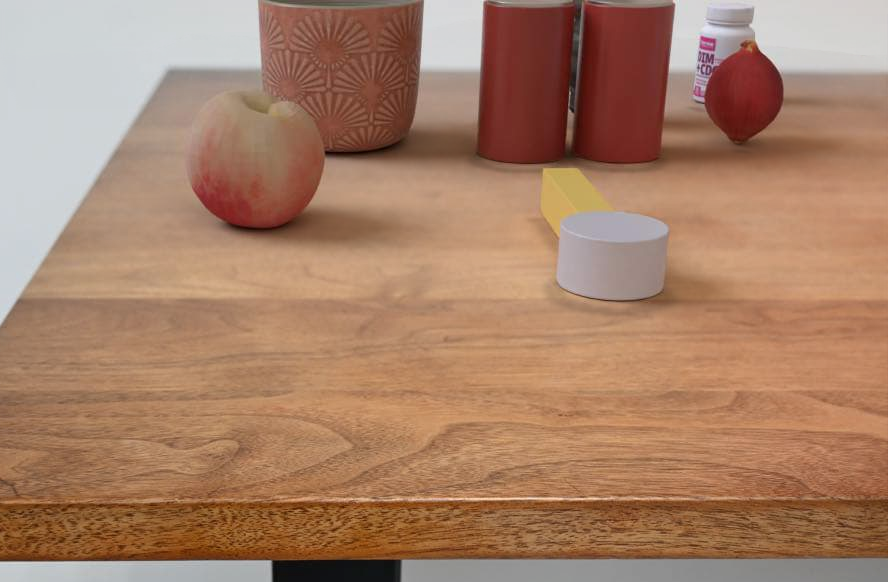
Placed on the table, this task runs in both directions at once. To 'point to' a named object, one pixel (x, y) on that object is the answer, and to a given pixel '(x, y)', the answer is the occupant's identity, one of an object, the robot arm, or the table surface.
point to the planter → (345, 66)
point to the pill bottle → (720, 40)
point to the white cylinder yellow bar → (602, 241)
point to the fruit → (254, 158)
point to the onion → (744, 93)
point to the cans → (597, 84)
